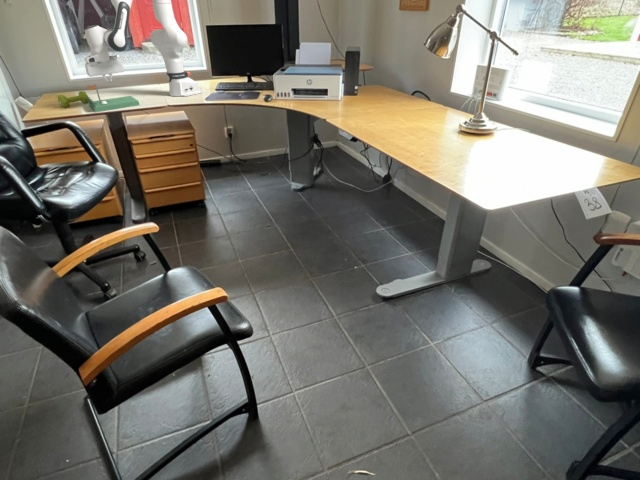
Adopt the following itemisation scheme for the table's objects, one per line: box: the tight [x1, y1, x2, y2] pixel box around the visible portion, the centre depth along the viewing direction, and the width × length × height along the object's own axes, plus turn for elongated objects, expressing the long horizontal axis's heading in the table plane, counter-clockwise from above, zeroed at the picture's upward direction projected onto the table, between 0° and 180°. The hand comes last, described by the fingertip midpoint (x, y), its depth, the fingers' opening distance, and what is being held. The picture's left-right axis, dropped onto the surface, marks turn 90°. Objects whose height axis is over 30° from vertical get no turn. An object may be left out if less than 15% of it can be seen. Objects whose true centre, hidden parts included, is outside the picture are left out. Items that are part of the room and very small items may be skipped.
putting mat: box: [87, 84, 140, 113], centre depth 234 cm, size 25×18×12 cm
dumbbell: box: [57, 90, 89, 109], centre depth 239 cm, size 16×8×7 cm, turn 141°
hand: (109, 82), depth 231 cm, fingers closed
